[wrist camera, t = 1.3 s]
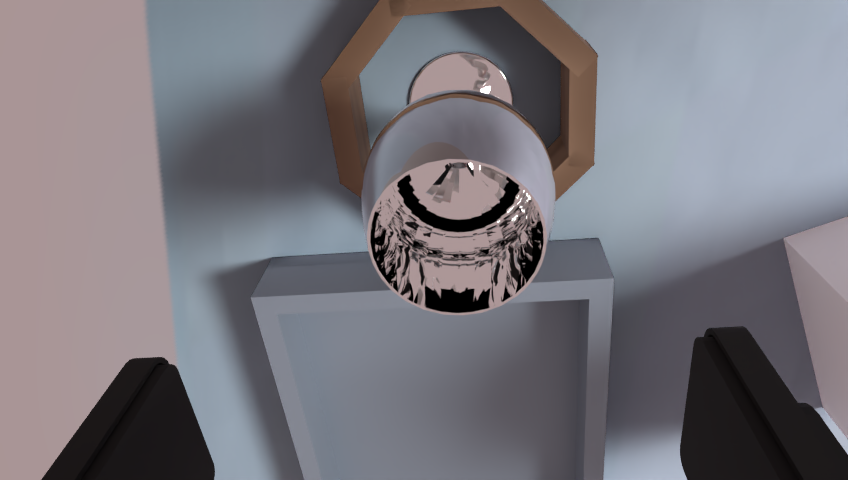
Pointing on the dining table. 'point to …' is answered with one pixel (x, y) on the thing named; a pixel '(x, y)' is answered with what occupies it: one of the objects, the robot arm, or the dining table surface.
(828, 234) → the milk
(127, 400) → the robot arm
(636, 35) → the dining table surface
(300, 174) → the dining table surface
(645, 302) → the dining table surface
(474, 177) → the wineglass
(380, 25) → the collar
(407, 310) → the tray
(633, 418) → the dining table surface
